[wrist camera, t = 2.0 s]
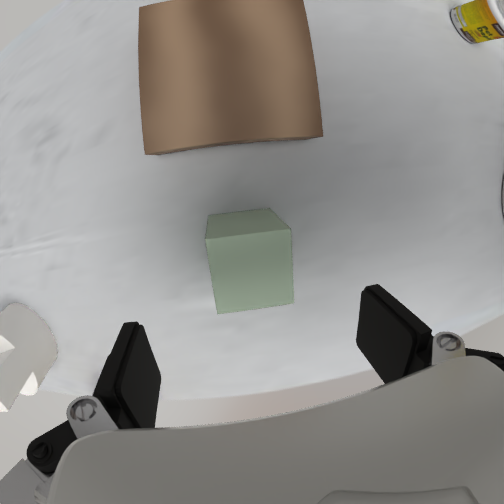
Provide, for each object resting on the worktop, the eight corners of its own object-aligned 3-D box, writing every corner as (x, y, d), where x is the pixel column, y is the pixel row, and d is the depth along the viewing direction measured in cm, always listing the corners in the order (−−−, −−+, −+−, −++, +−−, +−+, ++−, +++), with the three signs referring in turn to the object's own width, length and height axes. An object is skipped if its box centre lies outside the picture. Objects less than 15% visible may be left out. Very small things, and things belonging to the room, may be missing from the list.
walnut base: (289, 16, 17) (302, -5, 14) (305, 139, 21) (323, 136, 18) (150, 27, 16) (139, 7, 13) (157, 155, 20) (145, 154, 17)
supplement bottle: (455, 36, 18) (512, 21, 8) (444, 3, 16) (495, -17, 7) (479, 49, 19) (533, 41, 9) (469, 17, 17) (518, 4, 7)
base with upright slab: (28, 293, 22) (-34, 356, 11) (70, 358, 25) (32, 433, 14) (-6, 313, 22) (-57, 366, 11) (31, 368, 25) (-5, 430, 14)
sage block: (269, 208, 23) (290, 228, 16) (273, 264, 25) (294, 303, 18) (208, 215, 22) (205, 239, 16) (216, 271, 24) (217, 314, 18)
